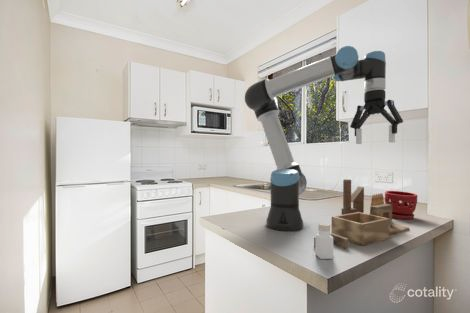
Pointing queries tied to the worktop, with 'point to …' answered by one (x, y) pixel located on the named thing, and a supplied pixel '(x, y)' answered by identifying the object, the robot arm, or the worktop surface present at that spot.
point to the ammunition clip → (377, 201)
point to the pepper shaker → (324, 242)
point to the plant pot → (401, 204)
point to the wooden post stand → (387, 213)
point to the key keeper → (338, 241)
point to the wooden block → (352, 198)
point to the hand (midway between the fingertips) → (374, 143)
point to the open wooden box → (361, 227)
